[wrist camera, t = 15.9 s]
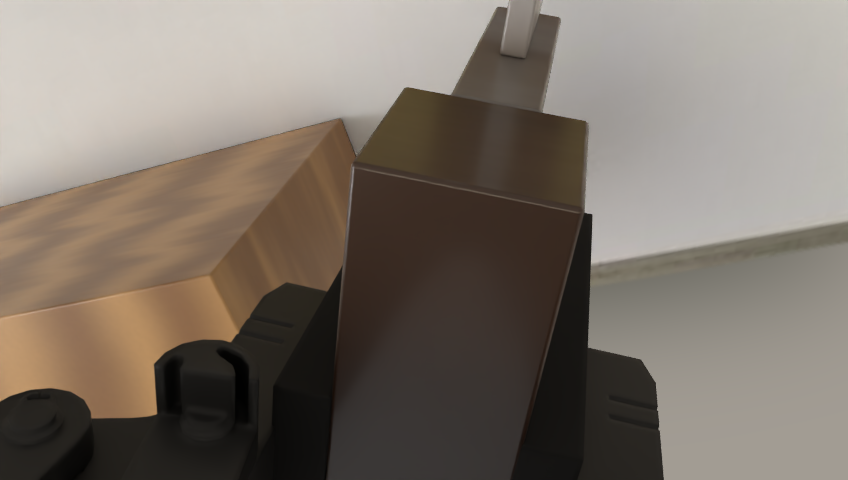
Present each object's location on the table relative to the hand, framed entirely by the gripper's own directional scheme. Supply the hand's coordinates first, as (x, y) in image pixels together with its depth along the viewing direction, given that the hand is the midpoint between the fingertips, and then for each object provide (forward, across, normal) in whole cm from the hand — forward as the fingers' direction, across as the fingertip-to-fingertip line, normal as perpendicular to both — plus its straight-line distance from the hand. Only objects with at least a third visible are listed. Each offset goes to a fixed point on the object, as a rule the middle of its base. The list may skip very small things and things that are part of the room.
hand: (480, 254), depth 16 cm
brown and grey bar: (+1, 0, +7) cm, 7 cm away
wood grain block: (+19, -18, -14) cm, 30 cm away
